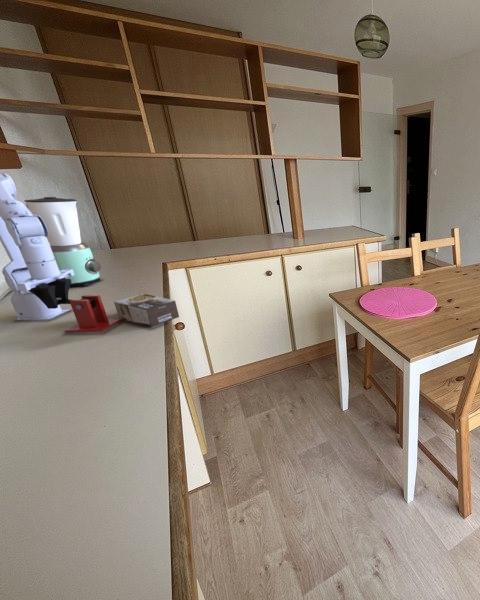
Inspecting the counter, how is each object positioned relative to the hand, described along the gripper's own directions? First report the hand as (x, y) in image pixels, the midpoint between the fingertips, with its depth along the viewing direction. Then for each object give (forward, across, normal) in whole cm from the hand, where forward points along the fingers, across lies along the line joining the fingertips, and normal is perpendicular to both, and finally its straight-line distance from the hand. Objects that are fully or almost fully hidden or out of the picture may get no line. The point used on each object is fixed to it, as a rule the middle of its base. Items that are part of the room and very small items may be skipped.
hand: (58, 305), depth 92 cm
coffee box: (+4, +10, -12) cm, 16 cm away
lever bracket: (+7, 0, -8) cm, 11 cm away
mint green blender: (+7, +44, +31) cm, 54 cm away
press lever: (0, 0, -4) cm, 4 cm away
